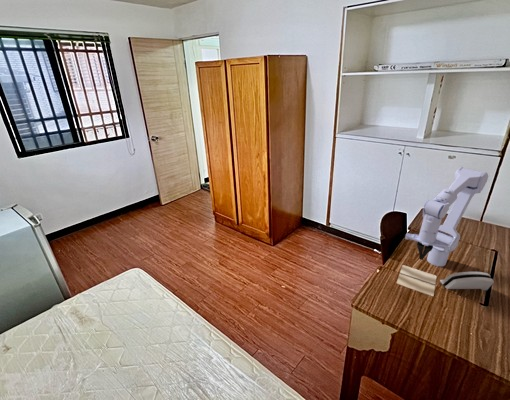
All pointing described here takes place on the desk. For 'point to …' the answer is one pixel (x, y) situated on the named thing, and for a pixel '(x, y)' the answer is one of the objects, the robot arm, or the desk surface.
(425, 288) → the board
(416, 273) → the laid board
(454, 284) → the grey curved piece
